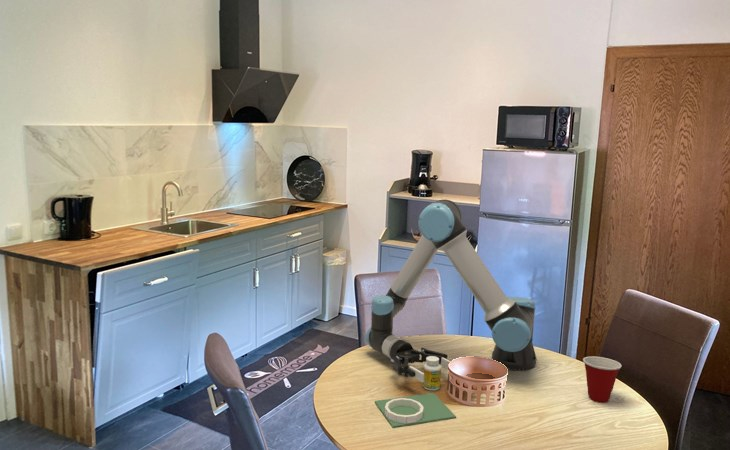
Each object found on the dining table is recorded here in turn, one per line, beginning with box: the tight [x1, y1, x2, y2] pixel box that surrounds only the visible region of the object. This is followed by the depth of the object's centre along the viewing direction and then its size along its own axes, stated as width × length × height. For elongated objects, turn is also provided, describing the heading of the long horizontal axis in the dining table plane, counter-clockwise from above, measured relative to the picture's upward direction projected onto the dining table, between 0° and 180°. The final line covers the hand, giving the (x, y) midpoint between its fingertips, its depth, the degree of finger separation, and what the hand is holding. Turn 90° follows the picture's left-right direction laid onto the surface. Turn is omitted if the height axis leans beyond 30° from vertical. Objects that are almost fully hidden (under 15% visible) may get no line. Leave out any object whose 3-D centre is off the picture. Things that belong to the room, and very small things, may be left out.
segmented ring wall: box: [385, 397, 424, 424], centre depth 162 cm, size 11×11×2 cm
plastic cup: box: [582, 355, 623, 404], centre depth 173 cm, size 11×11×12 cm
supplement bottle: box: [422, 356, 442, 392], centre depth 179 cm, size 5×5×10 cm
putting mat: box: [374, 392, 457, 429], centre depth 165 cm, size 19×15×1 cm
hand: (439, 373), depth 176 cm, fingers open, 12 cm apart
